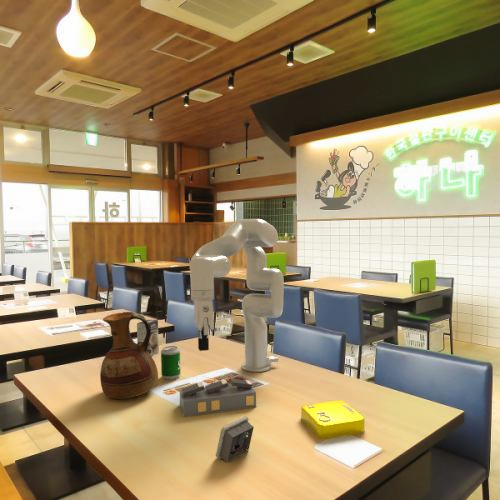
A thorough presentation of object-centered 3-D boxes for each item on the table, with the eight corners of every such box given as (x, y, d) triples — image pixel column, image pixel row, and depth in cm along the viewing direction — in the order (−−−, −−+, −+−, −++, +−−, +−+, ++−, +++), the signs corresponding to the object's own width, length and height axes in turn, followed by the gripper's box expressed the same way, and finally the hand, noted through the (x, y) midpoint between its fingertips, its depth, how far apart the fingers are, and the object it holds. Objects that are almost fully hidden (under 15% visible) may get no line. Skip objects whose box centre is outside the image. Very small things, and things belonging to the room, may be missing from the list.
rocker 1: (202, 385, 143) (201, 381, 143) (204, 389, 139) (203, 385, 139) (182, 392, 141) (181, 388, 141) (183, 396, 137) (182, 392, 137)
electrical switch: (240, 445, 116) (242, 413, 115) (254, 453, 113) (256, 420, 112) (215, 458, 110) (216, 425, 109) (228, 468, 106) (230, 433, 105)
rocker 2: (225, 382, 145) (224, 378, 145) (228, 386, 141) (227, 382, 141) (206, 389, 143) (205, 385, 143) (208, 393, 139) (207, 389, 139)
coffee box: (149, 358, 197) (148, 323, 196) (137, 357, 199) (136, 323, 198) (159, 352, 206) (158, 319, 205) (147, 351, 208) (146, 319, 207)
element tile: (367, 433, 123) (367, 417, 122) (319, 441, 118) (319, 424, 118) (342, 412, 137) (342, 397, 137) (299, 418, 133) (298, 403, 133)
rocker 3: (248, 384, 147) (249, 380, 147) (251, 388, 144) (252, 384, 144) (229, 381, 145) (230, 377, 145) (232, 385, 142) (233, 381, 142)
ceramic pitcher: (99, 388, 160) (96, 309, 158) (153, 380, 168) (150, 305, 166) (103, 408, 142) (100, 319, 140) (163, 398, 150) (161, 314, 148)
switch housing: (247, 395, 151) (247, 380, 150) (256, 407, 141) (256, 390, 141) (179, 404, 144) (179, 388, 144) (184, 417, 134) (183, 400, 134)
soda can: (176, 381, 166) (175, 351, 166) (158, 380, 168) (157, 350, 167) (183, 374, 174) (182, 345, 173) (166, 373, 175) (165, 345, 175)
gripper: (218, 297, 133) (219, 355, 134) (209, 291, 148) (210, 343, 148) (195, 298, 131) (196, 357, 132) (187, 292, 145) (188, 345, 146)
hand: (203, 349), depth 140 cm, fingers closed
